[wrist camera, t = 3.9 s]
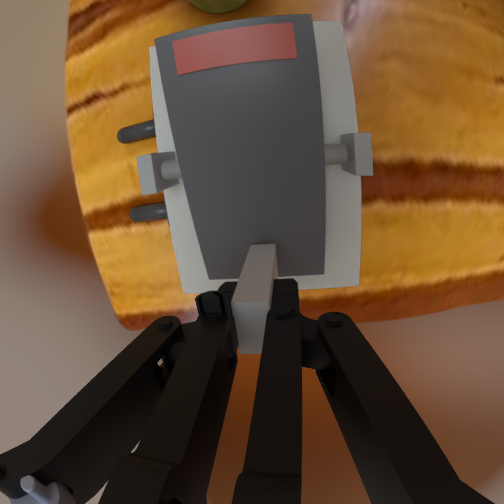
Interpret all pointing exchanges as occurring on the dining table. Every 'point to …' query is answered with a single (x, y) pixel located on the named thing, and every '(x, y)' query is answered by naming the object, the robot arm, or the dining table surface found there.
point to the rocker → (250, 140)
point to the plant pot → (217, 5)
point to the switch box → (336, 176)
